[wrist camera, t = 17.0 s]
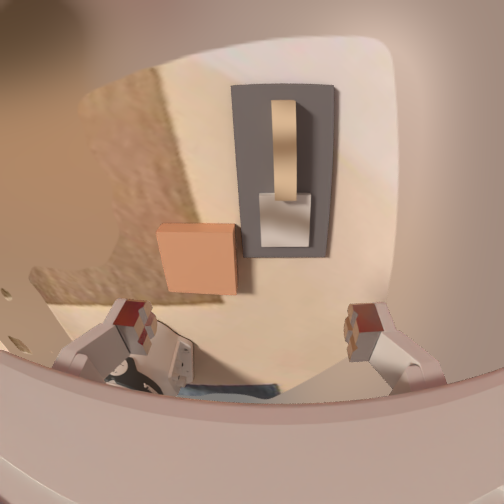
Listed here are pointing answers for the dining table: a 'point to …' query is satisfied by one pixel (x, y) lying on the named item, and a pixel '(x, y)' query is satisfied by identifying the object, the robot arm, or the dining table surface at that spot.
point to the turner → (284, 186)
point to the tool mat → (262, 161)
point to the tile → (199, 257)
